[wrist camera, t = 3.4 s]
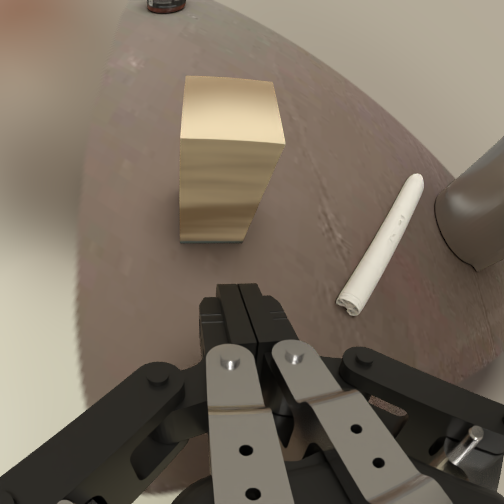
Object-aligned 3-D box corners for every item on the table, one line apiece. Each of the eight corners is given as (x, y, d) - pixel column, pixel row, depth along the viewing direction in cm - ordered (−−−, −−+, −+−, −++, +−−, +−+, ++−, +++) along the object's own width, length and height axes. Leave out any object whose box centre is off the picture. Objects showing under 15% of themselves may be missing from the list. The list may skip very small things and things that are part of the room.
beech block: (242, 243, 23) (285, 143, 13) (180, 243, 22) (180, 138, 12) (238, 190, 25) (272, 82, 15) (181, 189, 24) (186, 75, 14)
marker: (407, 173, 30) (419, 161, 28) (421, 186, 30) (433, 174, 28) (331, 301, 23) (345, 294, 21) (351, 318, 23) (366, 312, 21)
